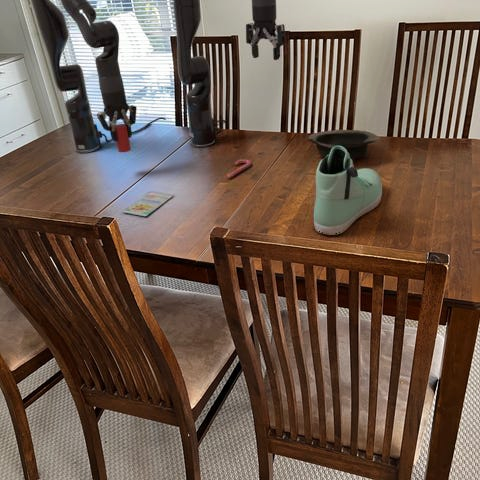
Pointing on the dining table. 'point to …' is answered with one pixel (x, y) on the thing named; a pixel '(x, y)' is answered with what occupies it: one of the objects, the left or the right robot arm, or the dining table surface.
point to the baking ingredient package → (147, 204)
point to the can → (122, 138)
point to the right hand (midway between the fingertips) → (266, 58)
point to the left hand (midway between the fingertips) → (122, 138)
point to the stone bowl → (343, 141)
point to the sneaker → (343, 192)
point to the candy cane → (240, 167)
